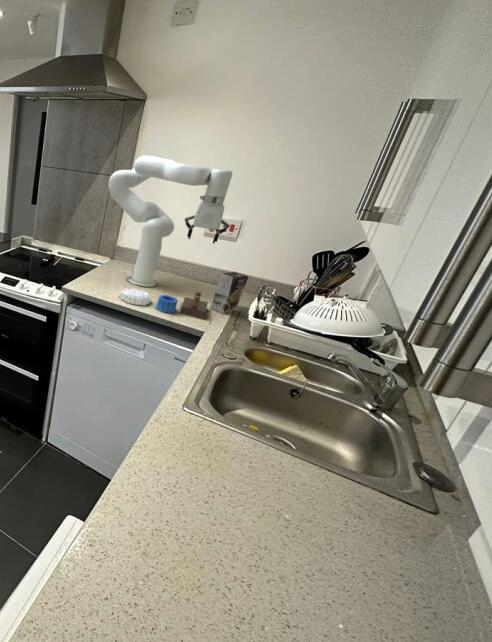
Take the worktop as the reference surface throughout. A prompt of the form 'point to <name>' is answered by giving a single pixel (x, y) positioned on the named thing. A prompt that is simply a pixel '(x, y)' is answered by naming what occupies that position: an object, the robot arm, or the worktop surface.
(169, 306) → the blue ribbed cylinder
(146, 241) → the robot arm
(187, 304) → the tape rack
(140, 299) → the mooncake
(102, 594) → the worktop surface
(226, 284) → the coffee box
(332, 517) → the worktop surface
